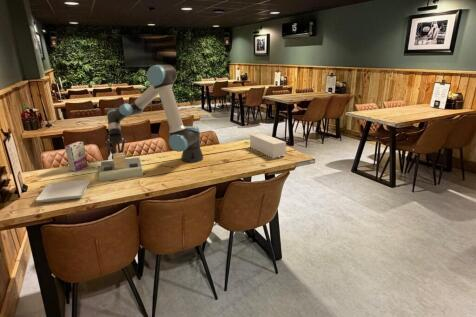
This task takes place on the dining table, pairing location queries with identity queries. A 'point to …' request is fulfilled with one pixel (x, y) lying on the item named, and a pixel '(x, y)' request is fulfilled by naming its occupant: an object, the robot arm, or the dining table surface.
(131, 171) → the block
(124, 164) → the maple block
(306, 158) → the dining table surface
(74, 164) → the candy bar box
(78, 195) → the salad plate
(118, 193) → the dining table surface
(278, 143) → the white rectangular block
